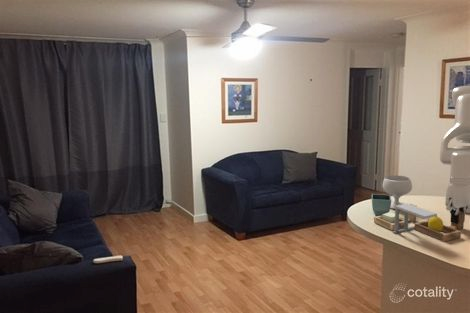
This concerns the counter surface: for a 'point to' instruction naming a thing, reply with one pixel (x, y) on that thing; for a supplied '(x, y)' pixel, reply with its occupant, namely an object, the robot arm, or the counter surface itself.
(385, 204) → the flower pot
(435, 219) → the lemon
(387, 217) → the sage cube
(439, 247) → the counter surface
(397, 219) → the grey bench
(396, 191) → the chalice
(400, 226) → the sled
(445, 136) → the robot arm
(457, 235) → the wooden handled tray
